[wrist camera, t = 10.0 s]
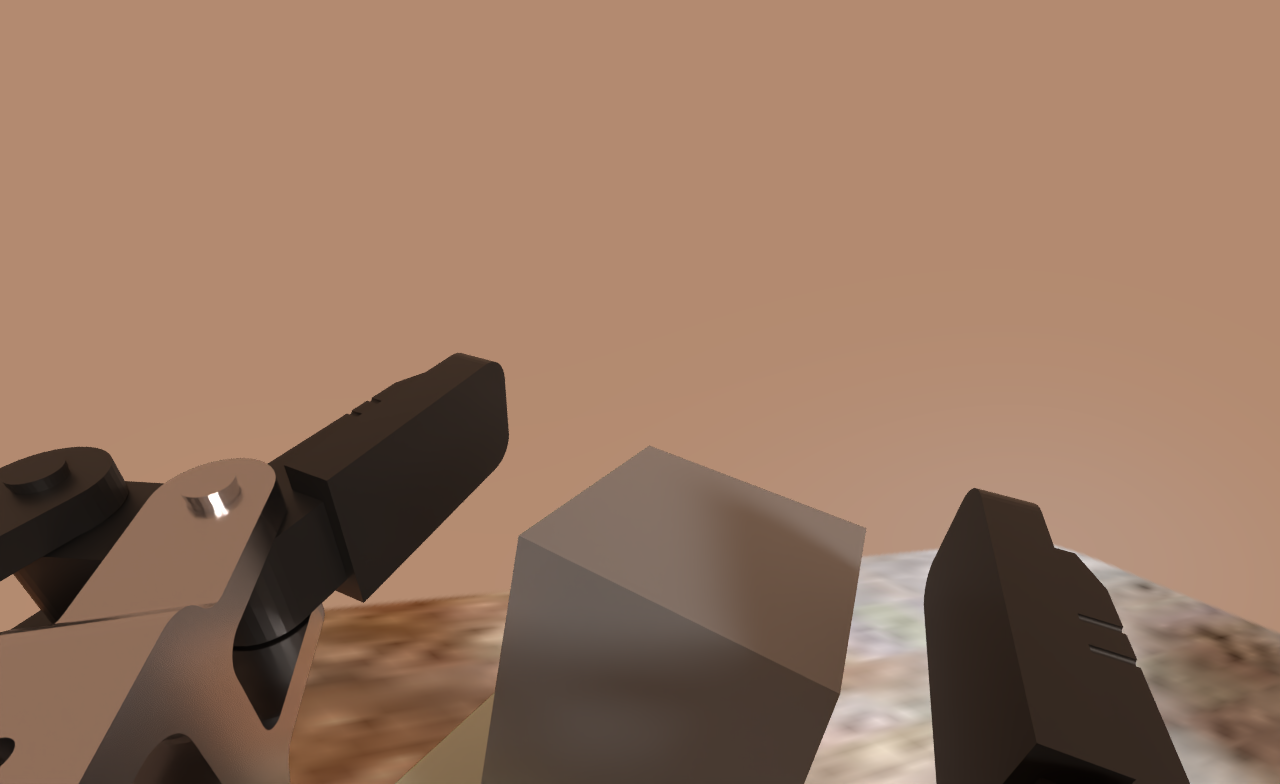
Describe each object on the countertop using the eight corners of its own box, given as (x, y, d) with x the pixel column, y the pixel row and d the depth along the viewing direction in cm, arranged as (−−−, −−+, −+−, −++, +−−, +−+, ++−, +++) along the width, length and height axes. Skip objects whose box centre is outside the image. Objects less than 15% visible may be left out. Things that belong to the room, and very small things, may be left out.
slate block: (457, 936, 12) (518, 535, 9) (580, 754, 16) (649, 445, 13) (669, 1118, 10) (839, 693, 7) (742, 857, 14) (866, 528, 11)
